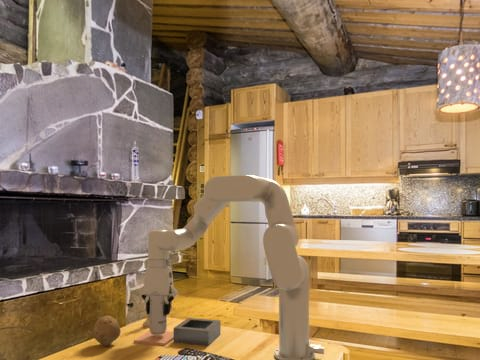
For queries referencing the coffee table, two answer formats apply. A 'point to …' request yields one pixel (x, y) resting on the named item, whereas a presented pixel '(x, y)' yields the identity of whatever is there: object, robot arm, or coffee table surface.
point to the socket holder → (197, 331)
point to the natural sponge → (106, 330)
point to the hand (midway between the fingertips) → (158, 313)
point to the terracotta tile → (155, 338)
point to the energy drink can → (157, 314)
